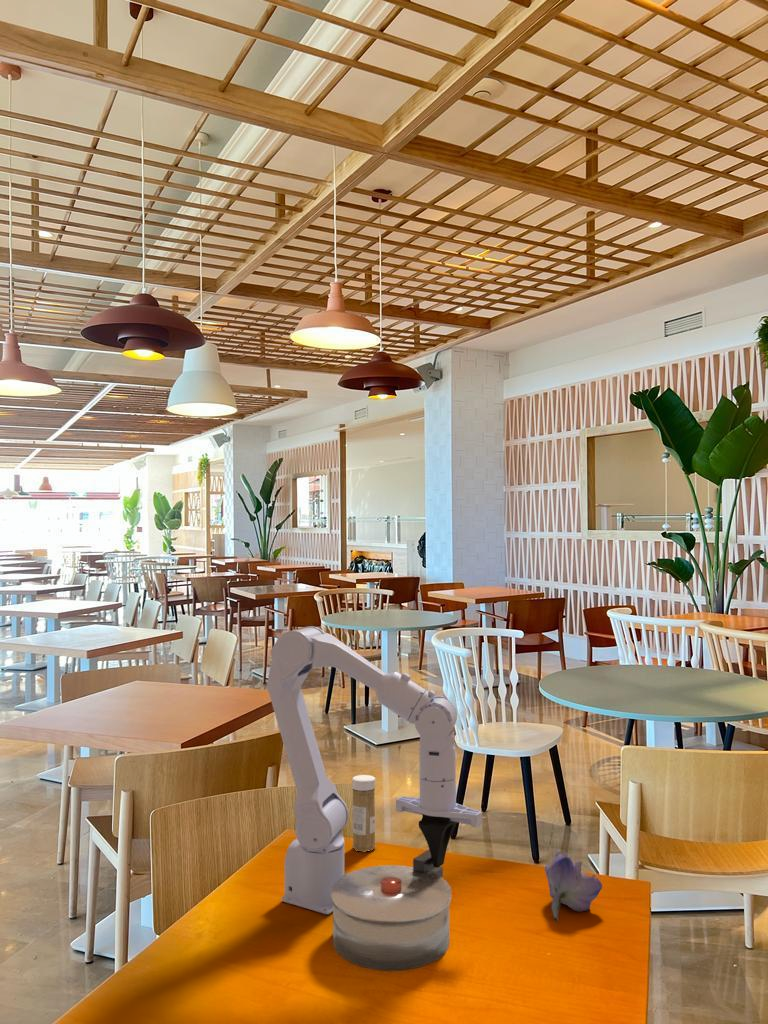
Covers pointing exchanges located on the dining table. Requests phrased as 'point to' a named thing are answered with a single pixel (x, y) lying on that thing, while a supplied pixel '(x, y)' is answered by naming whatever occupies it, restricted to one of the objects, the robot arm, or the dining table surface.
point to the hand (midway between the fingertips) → (438, 865)
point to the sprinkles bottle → (363, 812)
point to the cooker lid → (392, 893)
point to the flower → (570, 884)
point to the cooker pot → (391, 940)
